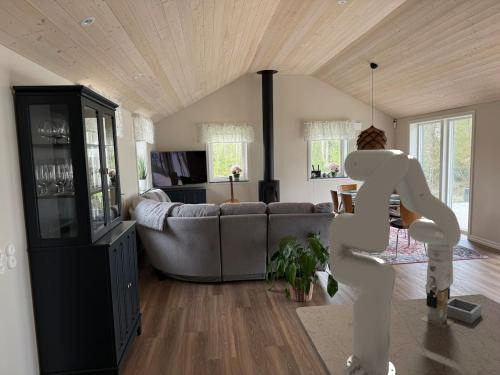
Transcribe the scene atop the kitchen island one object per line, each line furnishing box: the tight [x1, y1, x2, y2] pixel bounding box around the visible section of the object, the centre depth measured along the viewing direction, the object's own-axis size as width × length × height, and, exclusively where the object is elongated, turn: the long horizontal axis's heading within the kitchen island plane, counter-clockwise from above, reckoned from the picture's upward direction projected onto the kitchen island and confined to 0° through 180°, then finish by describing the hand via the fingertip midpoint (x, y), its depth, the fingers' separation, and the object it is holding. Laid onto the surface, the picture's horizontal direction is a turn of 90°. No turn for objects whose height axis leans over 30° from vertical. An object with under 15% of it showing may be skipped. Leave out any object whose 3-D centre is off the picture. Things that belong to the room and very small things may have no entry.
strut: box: [427, 286, 449, 324], centre depth 119 cm, size 4×4×11 cm
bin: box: [447, 296, 482, 325], centre depth 123 cm, size 9×9×5 cm
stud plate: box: [419, 313, 456, 329], centre depth 120 cm, size 8×8×6 cm
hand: (438, 302), depth 119 cm, fingers open, 9 cm apart
